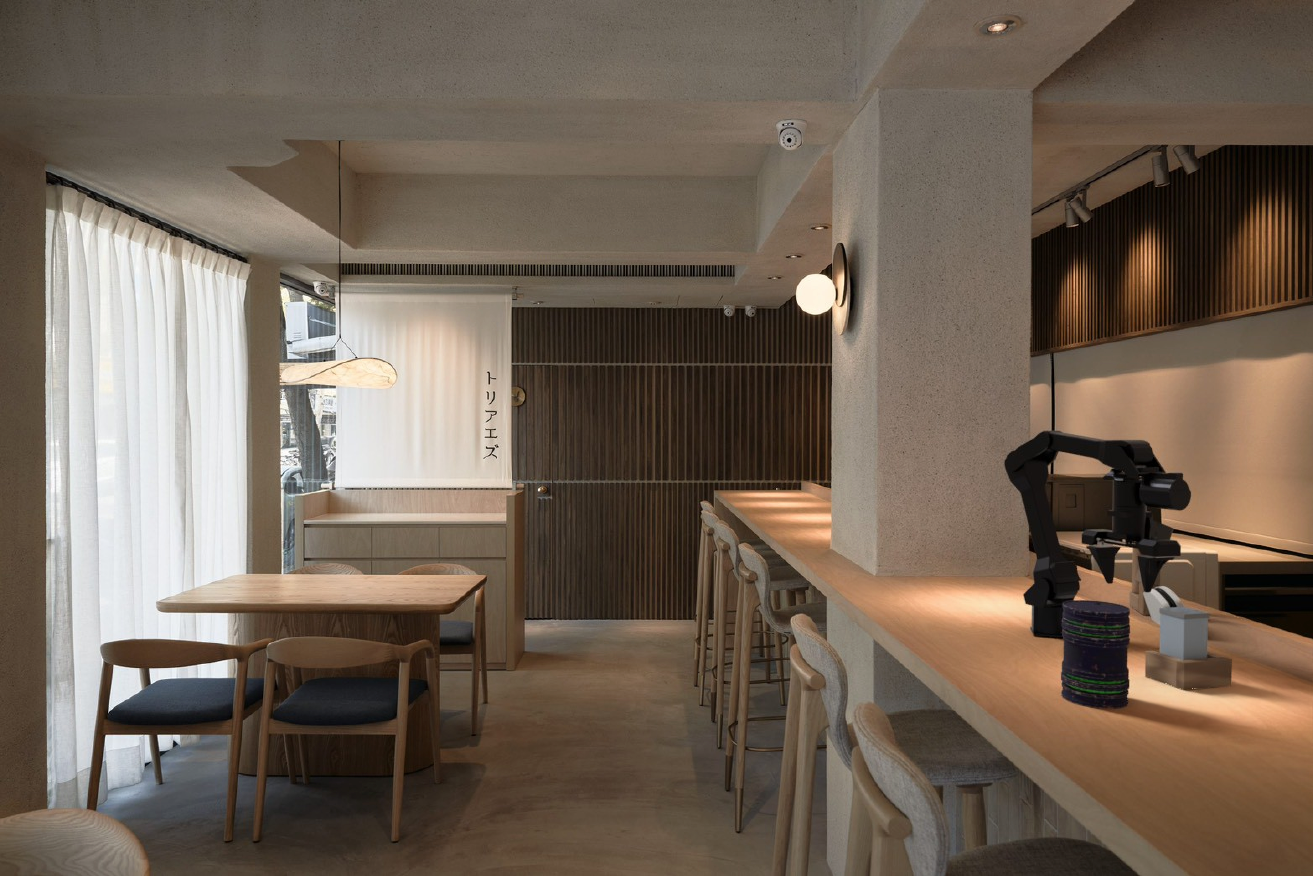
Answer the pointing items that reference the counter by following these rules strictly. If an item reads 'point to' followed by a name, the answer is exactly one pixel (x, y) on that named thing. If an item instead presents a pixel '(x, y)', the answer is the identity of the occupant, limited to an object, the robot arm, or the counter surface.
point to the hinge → (1160, 601)
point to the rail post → (1183, 633)
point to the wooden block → (1139, 586)
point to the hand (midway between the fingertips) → (1128, 587)
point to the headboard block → (1189, 670)
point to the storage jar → (1095, 654)
